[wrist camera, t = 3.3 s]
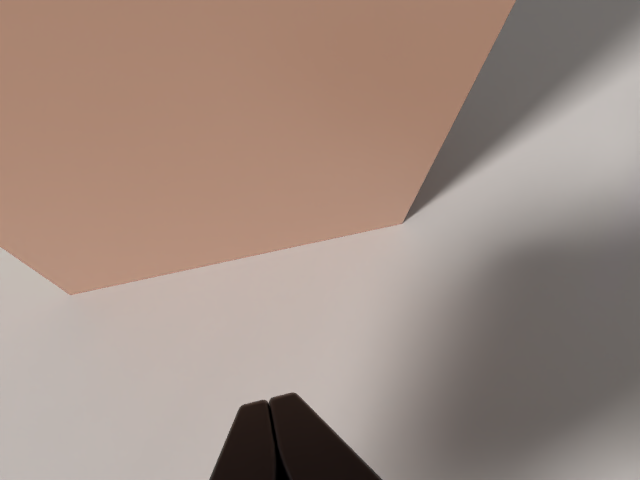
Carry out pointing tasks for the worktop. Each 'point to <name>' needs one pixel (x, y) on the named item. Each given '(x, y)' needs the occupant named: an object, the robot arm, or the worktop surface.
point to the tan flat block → (220, 125)
